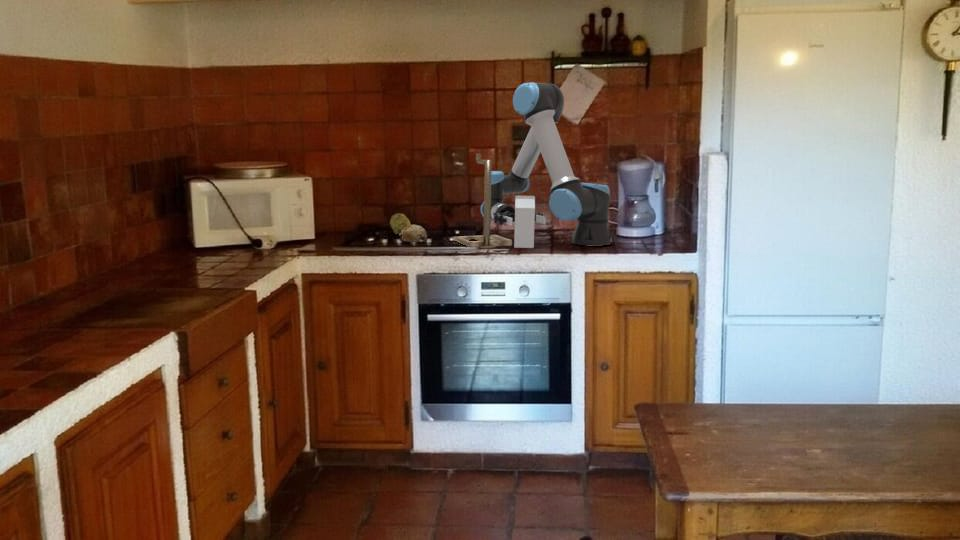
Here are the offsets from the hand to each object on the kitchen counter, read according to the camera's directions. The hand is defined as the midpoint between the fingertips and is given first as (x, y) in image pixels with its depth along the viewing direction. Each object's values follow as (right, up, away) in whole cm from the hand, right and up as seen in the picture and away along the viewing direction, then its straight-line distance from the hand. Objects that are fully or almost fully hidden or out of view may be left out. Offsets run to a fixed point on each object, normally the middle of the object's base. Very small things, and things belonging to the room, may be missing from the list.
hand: (528, 221), depth 338 cm
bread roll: (-44, -7, +15) cm, 46 cm away
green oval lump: (-49, -4, +29) cm, 57 cm away
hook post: (-17, -9, +5) cm, 20 cm away
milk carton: (-1, -9, +5) cm, 11 cm away
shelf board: (-17, -8, +10) cm, 21 cm away
